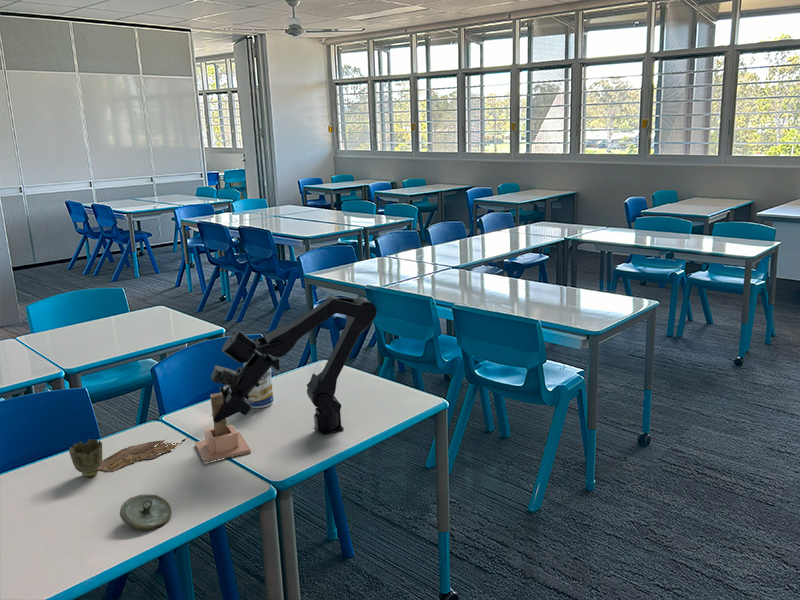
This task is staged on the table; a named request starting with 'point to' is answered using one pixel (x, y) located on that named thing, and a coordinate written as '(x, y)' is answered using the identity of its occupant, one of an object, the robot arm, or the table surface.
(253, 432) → the table surface
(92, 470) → the cup
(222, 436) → the terracotta holder
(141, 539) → the table surface
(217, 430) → the brown wooden block
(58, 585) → the table surface
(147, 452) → the wooden fragment
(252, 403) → the beverage bottle
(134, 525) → the lid
